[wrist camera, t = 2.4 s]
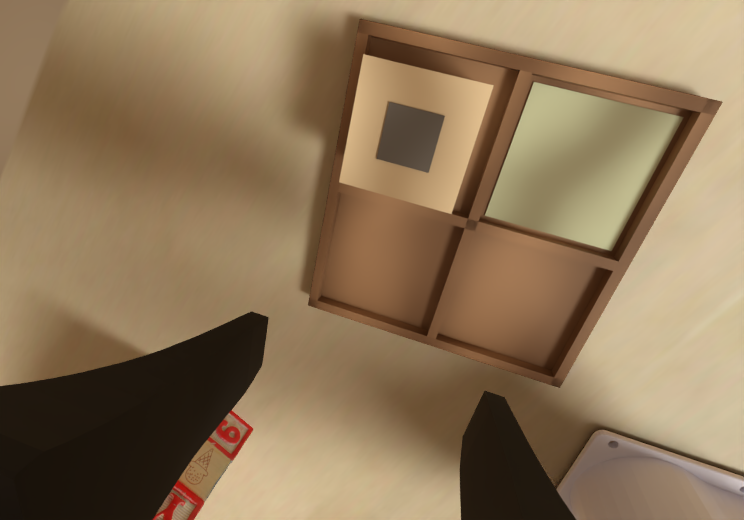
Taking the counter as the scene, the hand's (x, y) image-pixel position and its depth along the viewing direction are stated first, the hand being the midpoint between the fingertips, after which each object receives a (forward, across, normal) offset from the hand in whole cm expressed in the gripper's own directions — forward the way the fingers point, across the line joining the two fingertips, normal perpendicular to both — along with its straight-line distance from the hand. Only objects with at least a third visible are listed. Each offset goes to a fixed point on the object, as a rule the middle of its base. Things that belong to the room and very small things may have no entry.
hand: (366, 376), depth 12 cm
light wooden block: (+9, +1, -7) cm, 11 cm away
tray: (+10, -2, -3) cm, 10 cm away
